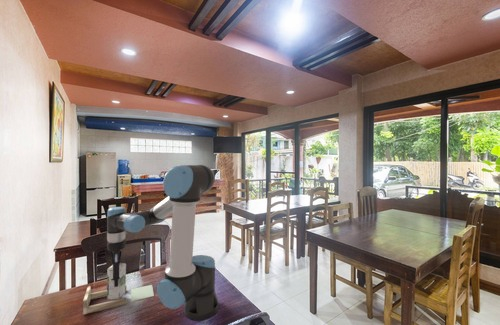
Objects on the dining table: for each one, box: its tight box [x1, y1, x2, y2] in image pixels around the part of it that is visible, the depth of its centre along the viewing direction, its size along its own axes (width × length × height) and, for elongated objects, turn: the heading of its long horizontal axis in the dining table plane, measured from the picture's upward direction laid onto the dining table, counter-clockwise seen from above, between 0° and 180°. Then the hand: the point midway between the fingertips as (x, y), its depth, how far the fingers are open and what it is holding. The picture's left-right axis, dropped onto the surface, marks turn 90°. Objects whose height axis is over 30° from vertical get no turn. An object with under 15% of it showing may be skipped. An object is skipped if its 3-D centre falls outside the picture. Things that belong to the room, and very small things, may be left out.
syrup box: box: [106, 262, 127, 300], centre depth 110 cm, size 6×6×14 cm
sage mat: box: [130, 284, 155, 303], centre depth 116 cm, size 11×10×1 cm
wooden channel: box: [82, 285, 127, 315], centre depth 109 cm, size 12×16×6 cm
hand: (116, 288), depth 110 cm, fingers closed on syrup box, 7 cm apart
